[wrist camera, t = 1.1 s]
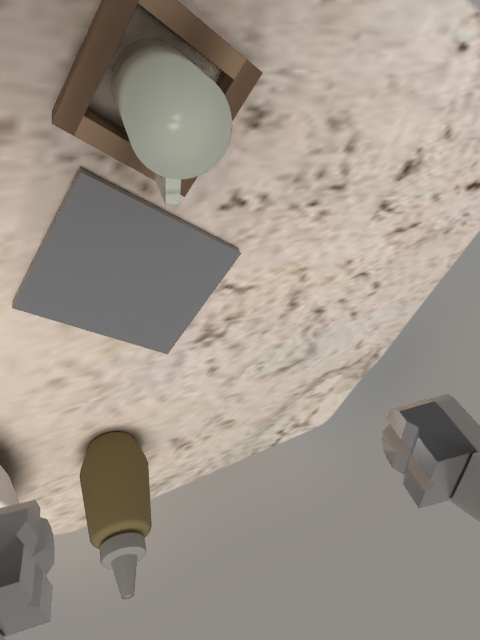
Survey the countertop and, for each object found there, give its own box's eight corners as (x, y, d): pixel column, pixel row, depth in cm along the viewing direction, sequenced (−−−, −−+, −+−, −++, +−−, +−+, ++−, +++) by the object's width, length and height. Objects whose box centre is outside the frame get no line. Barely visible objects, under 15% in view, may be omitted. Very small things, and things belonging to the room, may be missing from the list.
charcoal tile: (12, 301, 39) (11, 307, 39) (80, 167, 34) (80, 172, 33) (165, 348, 48) (167, 354, 48) (237, 248, 43) (241, 253, 42)
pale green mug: (108, 34, 29) (124, 63, 22) (195, 42, 31) (237, 71, 24) (116, 161, 35) (131, 219, 27) (190, 162, 36) (223, 215, 29)
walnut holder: (52, 111, 31) (51, 123, 29) (121, -44, 27) (126, -43, 25) (177, 182, 37) (184, 196, 35) (249, 64, 33) (262, 72, 31)
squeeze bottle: (82, 469, 57) (88, 623, 44) (74, 431, 52) (79, 592, 39) (144, 457, 60) (168, 600, 47) (143, 419, 55) (169, 567, 42)
